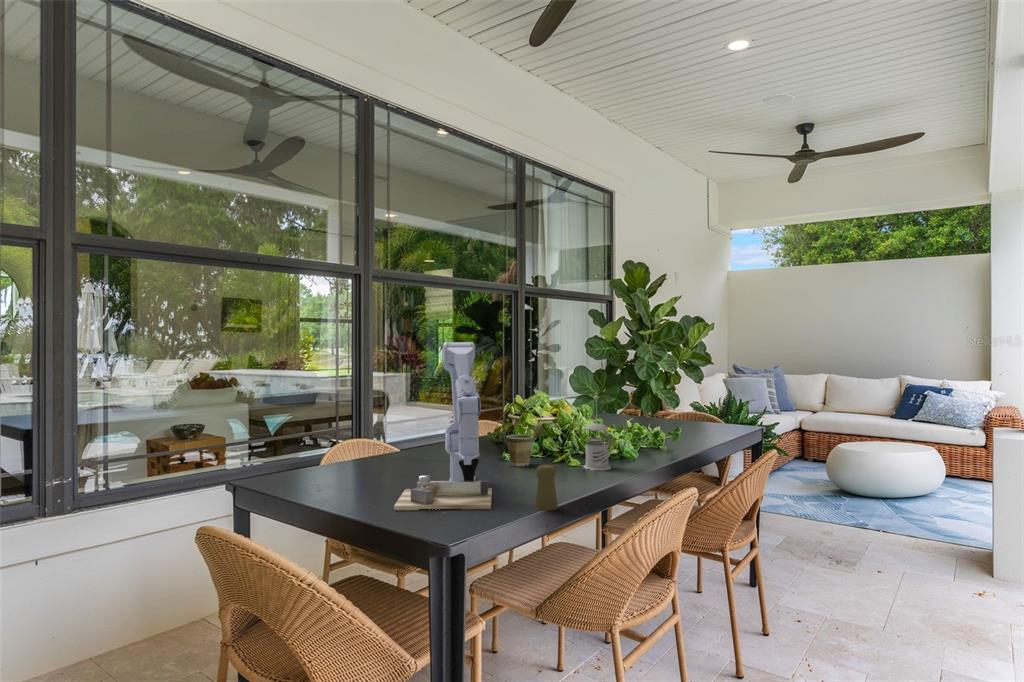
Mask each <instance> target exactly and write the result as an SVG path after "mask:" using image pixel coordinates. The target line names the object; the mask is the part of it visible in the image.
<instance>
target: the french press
mask: <svg viewBox="0 0 1024 682" xmlns="http://www.w3.org/2000/svg"><path fill="white" fill-rule="evenodd" d="M593 399H594V400H595V411H596V412H595V423H590V424H589V425H587V426H585V427H584V429H585V430H586V431H592V432H595V433H596V435H595V437H590V438H586V439H585V440H586V443H585V447H584V448H585V449H584V451H585V464H584V465H583V466H582V468H583V467H584V468H585V469H584V468H583V469H584V470H587V469H590V470H589V471H595V470H601V471H609V470H611V469H612V467H611V466H610V465H609V452H610V451H611V449H612V448H613V444H614V440H613V439H614V438H613V435H612V433H611V432H609V431H608V430H609V427H608V426H607V425H605V424H604V423H603V424H602V423H599V422H598V419H597V418H598V413H597V412H598V411H597V409H598V408H597V406H598V401H597V399H598V400H599V399H600V396H599V395H594V396H593ZM599 431H600V432H602V434H603V436H607V437H608V439H607V438H604V437H603V438H601V437H600V438H599V437H598V432H599ZM604 432H605V433H604ZM610 437H611V439H610ZM610 440H611V441H610ZM607 441H608V443H607ZM605 442H606V443H605ZM610 443H611V447H610ZM609 447H610V449H609Z"/></svg>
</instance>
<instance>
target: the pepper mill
mask: <svg viewBox="0 0 1024 682" xmlns="http://www.w3.org/2000/svg"><path fill="white" fill-rule="evenodd" d="M535 473H536V477H537V478H538V479H537V488H536V495H535V502H534V503H535V505H534V508H535V509H536V508H537V509H536V510H538V509H540V510H539V511H554V510H555V511H556V510H558V509H559V505H558V498H557V491H556V484H555V478H556V475H557V468H556V467H555V465H550V464H542V465H538V466H537V468H536V469H535Z"/></svg>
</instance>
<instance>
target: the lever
mask: <svg viewBox="0 0 1024 682" xmlns="http://www.w3.org/2000/svg"><path fill="white" fill-rule="evenodd" d="M430 477H431V476H430V475H429V474H422V475H419V478H418V479H419V480H418V481H417V482H416V488H417V487H418V488H423V489H425V488H426V487H428V486H433V487H434V488H435V489H436V491H437V494H488V488H489V480H488V479H486V480H485V479H484V480H483V479H481V480H475V481H449V480H431V479H430Z"/></svg>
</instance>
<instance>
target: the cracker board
mask: <svg viewBox="0 0 1024 682" xmlns="http://www.w3.org/2000/svg"><path fill="white" fill-rule="evenodd" d="M411 489H412V488H405V489H404V491H403V492H402V493H401V495H400V496H399V497H398V498H397V501H396V502H395V504H394V505H393V510H394V511H420V510H419V509H429V510H428V511H440V509H461V510H491V509H492V500H493V499H492V497H493V496H492V495H493V487H488V494H437V495H436V497H435V498H434V499H433V503H431V504H427V505H425V504H421V503H417V502H412V501H411ZM491 499H492V500H491ZM430 509H432V510H430ZM433 509H435V510H433ZM437 509H439V510H437Z"/></svg>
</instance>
